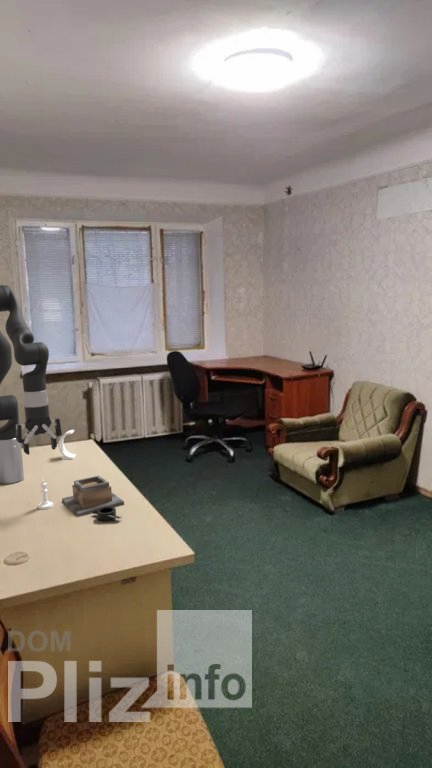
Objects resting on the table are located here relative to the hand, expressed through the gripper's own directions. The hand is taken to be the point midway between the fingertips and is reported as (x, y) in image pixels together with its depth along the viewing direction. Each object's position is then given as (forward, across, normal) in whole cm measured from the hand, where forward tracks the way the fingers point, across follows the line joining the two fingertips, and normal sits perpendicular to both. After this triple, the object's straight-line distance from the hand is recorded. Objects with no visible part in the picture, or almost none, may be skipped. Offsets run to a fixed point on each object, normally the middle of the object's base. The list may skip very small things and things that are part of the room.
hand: (40, 451), depth 178 cm
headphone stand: (+19, -24, -49) cm, 58 cm away
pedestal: (+19, -14, +7) cm, 25 cm away
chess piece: (+20, 0, 0) cm, 20 cm away
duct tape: (+20, -13, +22) cm, 32 cm away
